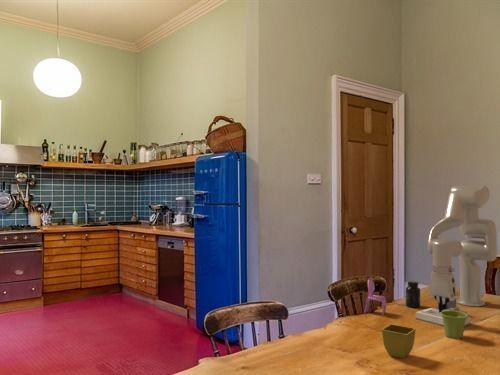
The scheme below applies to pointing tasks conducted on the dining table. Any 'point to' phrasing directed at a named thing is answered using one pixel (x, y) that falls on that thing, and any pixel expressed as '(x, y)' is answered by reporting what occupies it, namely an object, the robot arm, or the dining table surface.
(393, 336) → the flower pot
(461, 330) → the plant pot
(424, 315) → the socket plate
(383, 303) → the toy chair
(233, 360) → the dining table surface
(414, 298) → the supplement bottle
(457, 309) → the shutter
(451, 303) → the plug
